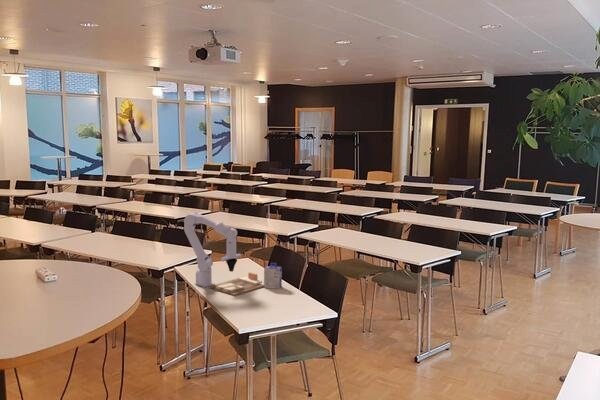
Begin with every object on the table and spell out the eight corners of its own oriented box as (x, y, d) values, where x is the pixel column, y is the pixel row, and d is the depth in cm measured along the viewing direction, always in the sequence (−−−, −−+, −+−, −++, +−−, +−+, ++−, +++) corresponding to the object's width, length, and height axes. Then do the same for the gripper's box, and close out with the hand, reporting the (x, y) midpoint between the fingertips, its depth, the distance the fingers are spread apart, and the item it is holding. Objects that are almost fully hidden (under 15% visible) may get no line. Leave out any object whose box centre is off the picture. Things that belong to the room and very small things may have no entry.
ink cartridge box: (282, 286, 298) (282, 262, 297) (279, 289, 293) (280, 265, 291) (266, 285, 300) (266, 261, 298) (263, 287, 295) (263, 264, 293)
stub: (239, 280, 305) (239, 272, 305) (245, 278, 309) (245, 271, 309) (255, 285, 296) (255, 277, 296) (262, 283, 301) (262, 275, 300)
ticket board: (209, 288, 292) (209, 284, 292) (238, 279, 311) (238, 275, 310) (235, 296, 278) (235, 292, 278) (264, 286, 297) (264, 282, 297)
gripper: (226, 251, 285) (226, 274, 287) (244, 247, 296) (244, 269, 298) (218, 249, 290) (218, 272, 291) (236, 245, 301) (236, 267, 302)
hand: (231, 271), depth 295 cm, fingers closed
